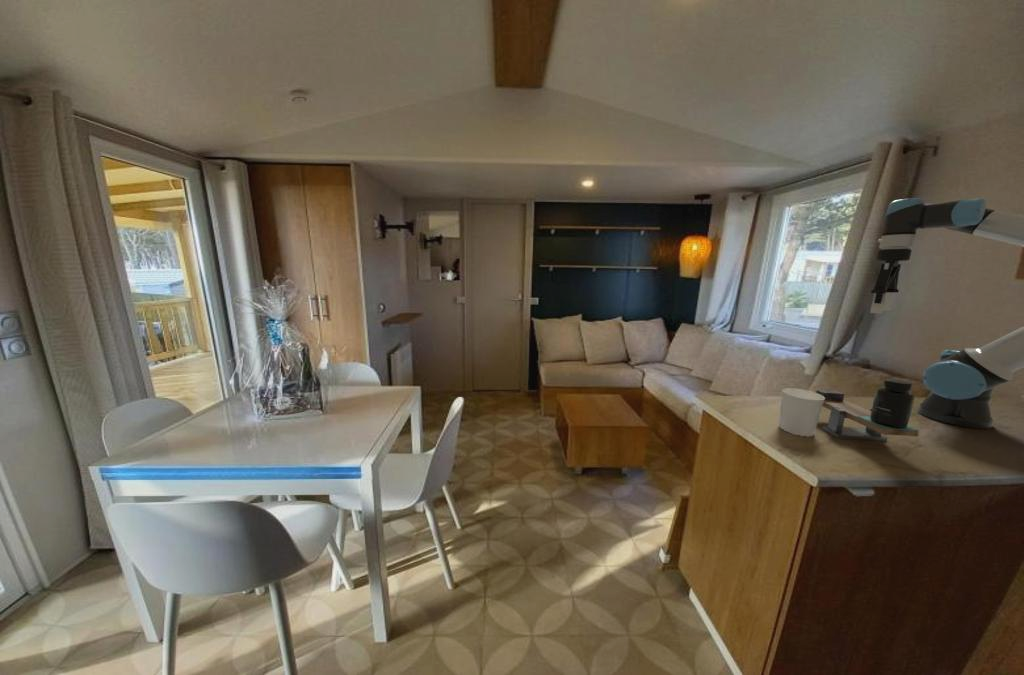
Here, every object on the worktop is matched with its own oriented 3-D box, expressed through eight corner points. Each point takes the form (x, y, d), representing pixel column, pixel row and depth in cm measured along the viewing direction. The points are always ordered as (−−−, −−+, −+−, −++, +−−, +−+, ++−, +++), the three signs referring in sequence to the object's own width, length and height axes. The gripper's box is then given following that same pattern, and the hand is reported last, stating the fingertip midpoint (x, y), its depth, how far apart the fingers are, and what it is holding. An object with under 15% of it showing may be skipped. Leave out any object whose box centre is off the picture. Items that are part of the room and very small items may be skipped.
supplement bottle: (870, 423, 90) (879, 380, 88) (868, 416, 95) (876, 375, 93) (909, 431, 85) (920, 386, 83) (905, 423, 90) (914, 380, 88)
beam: (837, 403, 111) (839, 390, 110) (918, 438, 87) (922, 421, 86) (809, 402, 112) (811, 389, 111) (881, 436, 87) (885, 419, 87)
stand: (867, 431, 102) (873, 407, 101) (886, 441, 97) (893, 415, 95) (821, 428, 104) (826, 404, 102) (837, 438, 98) (843, 412, 96)
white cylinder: (817, 430, 103) (825, 393, 101) (816, 441, 96) (825, 402, 94) (777, 420, 110) (783, 385, 107) (774, 430, 102) (780, 393, 100)
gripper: (886, 250, 121) (873, 308, 125) (869, 247, 107) (855, 313, 112) (918, 249, 115) (903, 310, 119) (905, 246, 101) (888, 315, 105)
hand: (880, 312), depth 115 cm, fingers open, 13 cm apart
